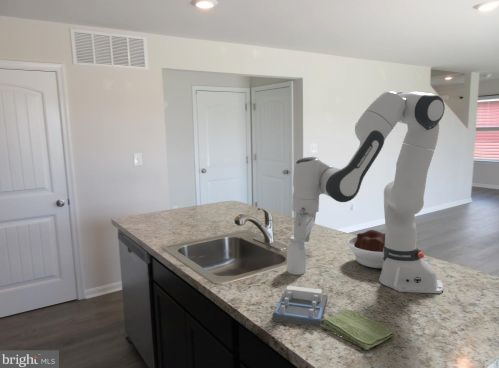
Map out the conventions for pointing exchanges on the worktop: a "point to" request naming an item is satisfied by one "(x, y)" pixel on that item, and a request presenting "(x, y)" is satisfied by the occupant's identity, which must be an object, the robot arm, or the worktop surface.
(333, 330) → the washcloth
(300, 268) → the pill bottle
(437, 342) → the worktop surface
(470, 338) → the worktop surface
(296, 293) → the bar
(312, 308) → the board
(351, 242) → the chocolate pudding dish
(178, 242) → the worktop surface
